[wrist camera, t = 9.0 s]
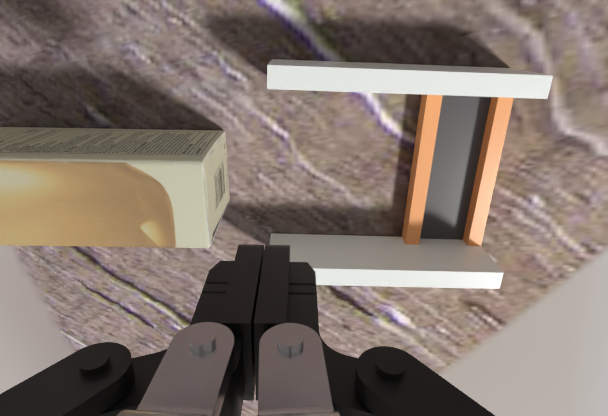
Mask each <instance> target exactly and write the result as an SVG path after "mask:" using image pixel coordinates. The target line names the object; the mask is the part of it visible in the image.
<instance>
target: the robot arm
mask: <svg viewBox="0 0 608 416" xmlns="http://www.w3.org/2000/svg"><path fill="white" fill-rule="evenodd" d="M255 383H256V400H258V415H257V416H495V415H493V414H492V413H491V412H489V411H488V410H486V409H485V408H484V407H482V406H481V405H479V404H478V403H477V402H475V401H474V400H473V399H471V398H470V397H468V396H467V395H466V394H464V393H463V392H461V391H460V390H459V389H457V388H456V387H454V386H453V385H452V384H450V383H449V382H447V381H446V380H445V379H443V378H442V377H441V376H439V375H438V374H437V373H435V372H434V371H432V370H431V369H430V368H428V367H427V366H425V365H424V364H423V363H421V362H420V361H418V360H417V359H416V358H414V357H413V356H412V355H410V354H408V353H407V352H405V351H403V350H400V349H397V348H393V347H386V346H382V347H374V348H371V349H369V350H367V351H365V352H364V353H362V354H361V356H360V357H359V358H354V357H350V356H346V355H343V354H340V353H338V352H336V351H334V350H333V349H331V348H330V347H328V346H327V345H326V344H325V343H324V342H323V340H322V339H321V337H320V334H319V325H318V308H317V291H316V274H315V271H314V270H313V268H312V267H311V266H310V265H309V263H308V262H290V245H266V246H265V251H264V245H239V246H238V249H237V253H236V257H235V261H220V262H219V263H217V264H216V265H215V266H214V267H213V268H212V269H211V270H210V271H209V273H208V276H207V279H206V282H205V285H204V288H203V290H202V294H201V296H200V299H199V302H198V304H197V307H196V310H195V313H194V316H193V318H192V321H191V324H190V326H188V327H186V328H184V329H182V330H181V331H180V332H178V333H177V334H176V335H175V336H174V338H173V339H172V341H171V343H170V345H169V347H168V349H166V350H163V351H161V352H157V353H154V354H149V355H145V356H140V357H136V358H131V353H130V351H129V350H128V349H127V348H126V347H125V346H123V345H121V344H118V343H112V342H105V343H98V344H94V345H90V346H87V347H85V348H83V349H81V350H79V351H77V352H75V353H73V354H71V355H70V356H68V357H66V358H64V359H62V360H61V361H59V362H57V363H55V364H54V365H52V366H50V367H48V368H46V369H45V370H43V371H41V372H39V373H37V374H36V375H34V376H32V377H30V378H28V379H27V380H25V381H23V382H21V383H19V384H18V385H16V386H14V387H12V388H11V389H9V390H7V391H5V392H3V393H2V394H0V416H241V410H242V404H243V400H254V392H255Z"/></svg>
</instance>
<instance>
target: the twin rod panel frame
mask: <svg viewBox="0 0 608 416" xmlns="http://www.w3.org/2000/svg"><path fill="white" fill-rule="evenodd" d="M552 78H553V75H547V74H541V73H536V72H530V71H525V70H519V69H513V68H497V67H470V66H444V65H417V64H391V63H364V62H338V61H311V60H285V59H272V60H271V61H270V62H269V63H268V65H267V89H283V90H311V91H339V92H367V93H396V94H422V95H421V103H420V110H419V117H418V124H417V131H416V138H415V145H414V153H413V160H412V167H411V174H410V181H409V188H408V196H407V203H406V210H405V217H404V224H403V231H402V237H394V236H355V235H315V234H276V233H271V236H270V244H269V245H290V262H308V263H309V265H310V266H311V267H312V268H313V270H314V271H315V274H316V285H347V286H393V287H439V288H485V289H500V285H501V281H502V277H503V271H502V270H501V269H500V268H499V267H498V266H497V264H496V263H495V262H494V261H493V260H492V259H491V257H490V256H489V255H488V254H487V253H486V252H485V250H484V249H483V248H482V247H481V243H482V239H483V234H484V230H485V225H486V221H487V216H488V212H489V207H490V203H491V198H492V194H493V189H494V185H495V180H496V176H497V171H498V167H499V162H500V158H501V153H502V149H503V144H504V140H505V135H506V131H507V126H508V121H509V117H510V112H511V108H512V103H513V99H514V98H536V99H547V98H548V94H549V90H550V86H551V82H552Z"/></svg>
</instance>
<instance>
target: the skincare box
mask: <svg viewBox="0 0 608 416" xmlns="http://www.w3.org/2000/svg"><path fill="white" fill-rule="evenodd" d="M225 135H226V133H225V131H217V130H154V129H98V128H49V127H0V245H25V246H105V247H174V248H209V247H210V246H211V244H212V241H213V238H214V236H215V234H216V231H217V229H218V226H219V224H220V221H221V219H222V216H223V214H224V212H225V209H226V207H227V205H228V203H229V200H230V195H229V182H228V165H227V147H226V136H225Z"/></svg>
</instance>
